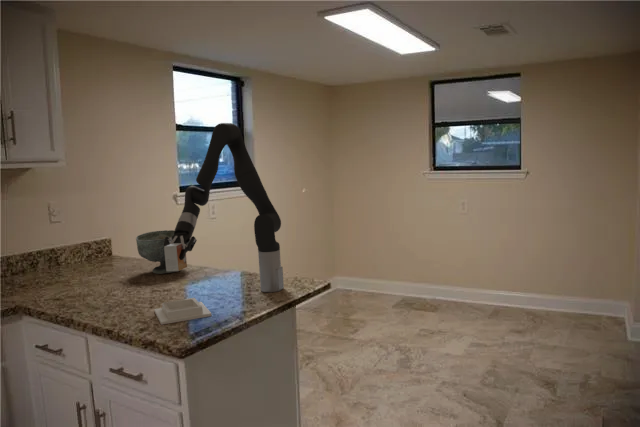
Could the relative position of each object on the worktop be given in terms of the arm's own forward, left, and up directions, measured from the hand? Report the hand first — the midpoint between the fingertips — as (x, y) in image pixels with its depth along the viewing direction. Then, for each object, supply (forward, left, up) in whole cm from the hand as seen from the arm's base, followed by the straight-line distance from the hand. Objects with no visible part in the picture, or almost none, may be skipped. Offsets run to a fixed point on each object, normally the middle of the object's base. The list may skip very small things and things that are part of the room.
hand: (173, 258), depth 216 cm
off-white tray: (-12, +16, -17) cm, 27 cm away
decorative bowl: (+36, -50, -18) cm, 64 cm away
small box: (0, -2, -5) cm, 5 cm away
